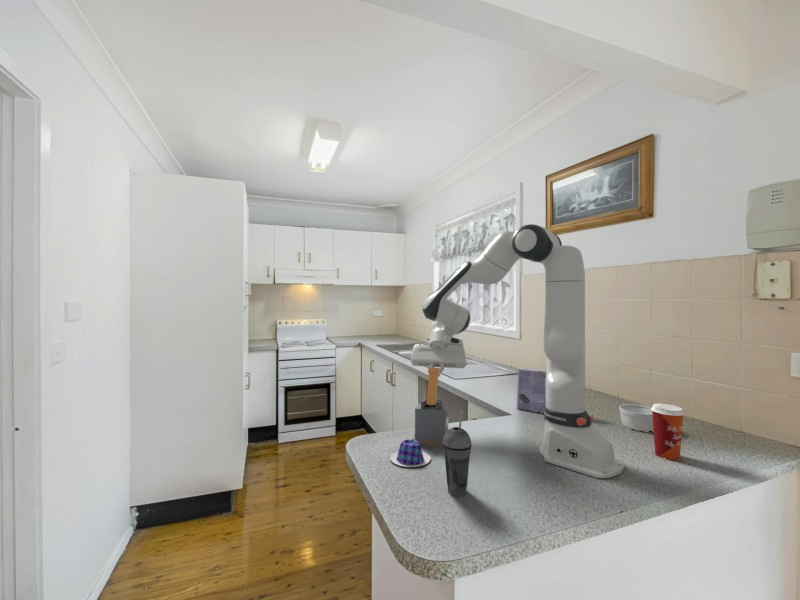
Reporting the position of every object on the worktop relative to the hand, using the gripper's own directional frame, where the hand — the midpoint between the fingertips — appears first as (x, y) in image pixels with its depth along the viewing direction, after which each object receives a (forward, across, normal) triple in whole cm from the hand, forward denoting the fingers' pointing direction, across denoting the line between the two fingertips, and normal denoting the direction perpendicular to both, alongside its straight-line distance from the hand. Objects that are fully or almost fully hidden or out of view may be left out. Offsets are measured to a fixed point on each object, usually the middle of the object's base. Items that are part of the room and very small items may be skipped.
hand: (435, 375), depth 127 cm
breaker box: (+19, 0, +10) cm, 22 cm away
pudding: (+30, -4, -1) cm, 31 cm away
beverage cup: (+40, +12, -11) cm, 44 cm away
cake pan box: (-12, +39, +41) cm, 58 cm away
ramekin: (-5, +72, +34) cm, 80 cm away
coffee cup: (+14, +71, +16) cm, 74 cm away
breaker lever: (+12, 0, 0) cm, 12 cm away
